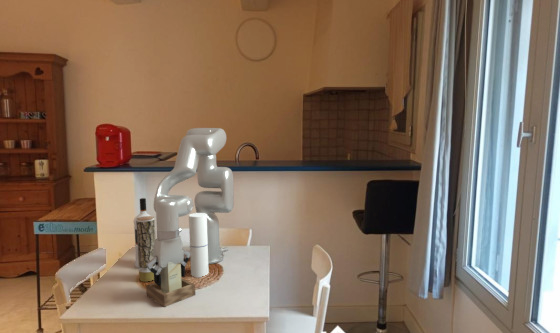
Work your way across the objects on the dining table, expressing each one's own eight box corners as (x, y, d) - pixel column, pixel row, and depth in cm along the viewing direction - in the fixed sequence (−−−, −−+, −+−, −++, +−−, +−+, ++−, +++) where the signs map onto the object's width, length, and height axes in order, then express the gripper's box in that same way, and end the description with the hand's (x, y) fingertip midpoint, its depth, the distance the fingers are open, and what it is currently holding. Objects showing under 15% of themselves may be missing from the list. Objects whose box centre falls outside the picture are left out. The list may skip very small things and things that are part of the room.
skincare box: (169, 296, 140) (167, 263, 139) (160, 293, 143) (159, 261, 141) (182, 290, 145) (181, 258, 144) (174, 287, 148) (172, 256, 146)
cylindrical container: (193, 278, 159) (191, 217, 156) (189, 272, 165) (186, 214, 162) (210, 275, 162) (208, 215, 159) (205, 269, 169) (203, 212, 166)
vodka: (149, 270, 169) (145, 200, 165) (130, 268, 171) (126, 200, 168) (161, 262, 178) (158, 196, 174) (143, 260, 180) (139, 195, 176)
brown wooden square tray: (176, 285, 153) (176, 275, 152) (195, 294, 144) (194, 284, 144) (146, 296, 144) (146, 285, 143) (164, 306, 135) (164, 295, 135)
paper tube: (151, 283, 155) (148, 220, 152) (136, 282, 156) (132, 220, 153) (160, 276, 162) (157, 216, 159) (145, 275, 163) (142, 215, 160)
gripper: (183, 227, 150) (185, 270, 152) (140, 237, 138) (142, 284, 140) (194, 230, 145) (196, 275, 147) (151, 241, 132) (153, 290, 134)
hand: (170, 280), depth 143 cm, fingers open, 9 cm apart
